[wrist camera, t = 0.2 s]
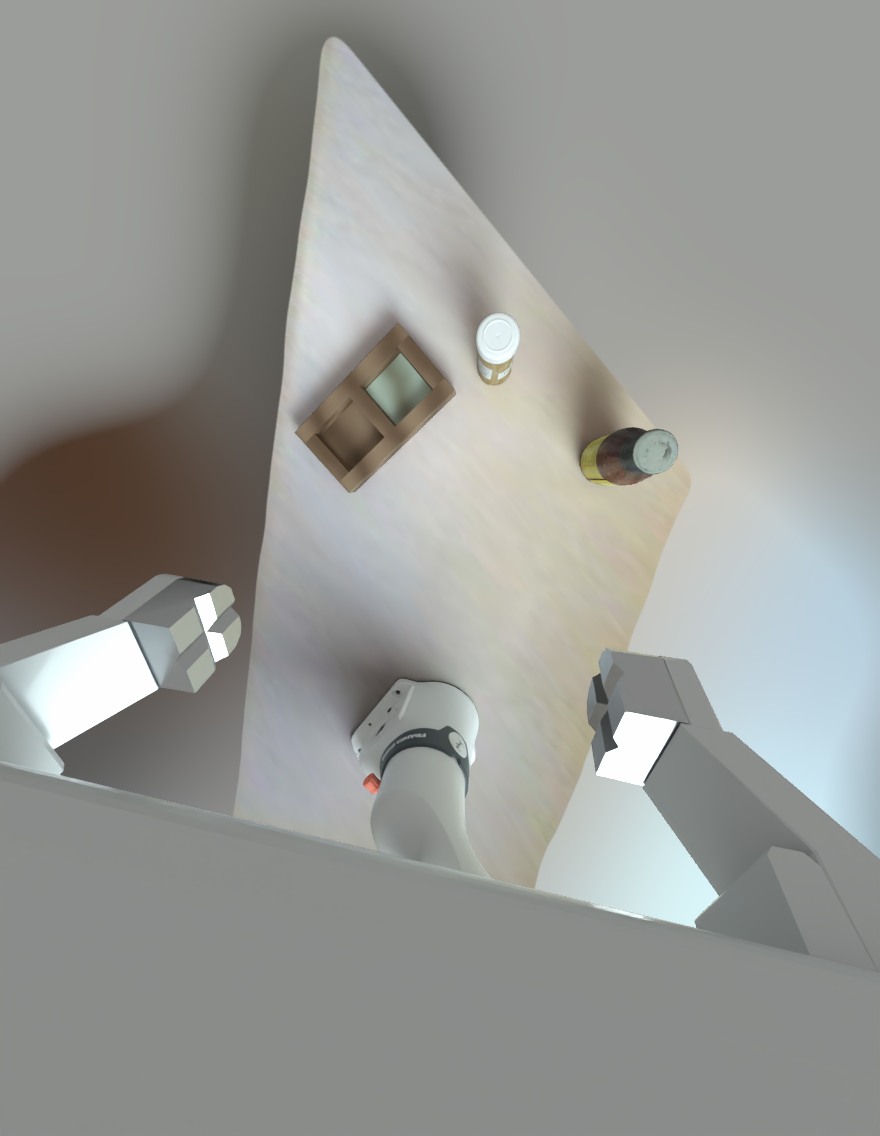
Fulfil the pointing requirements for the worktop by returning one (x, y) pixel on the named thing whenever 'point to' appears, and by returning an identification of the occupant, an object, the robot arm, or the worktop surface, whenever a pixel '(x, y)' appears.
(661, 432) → the sauce bottle
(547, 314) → the worktop surface
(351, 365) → the worktop surface
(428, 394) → the spice caddy
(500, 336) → the sprinkles bottle
